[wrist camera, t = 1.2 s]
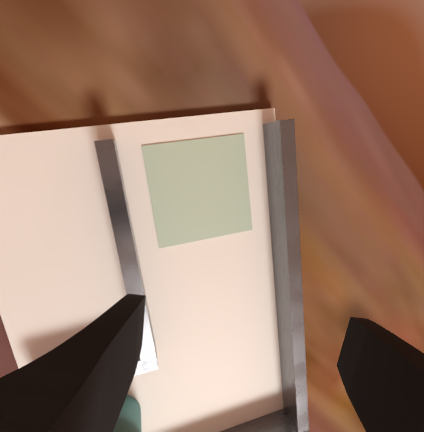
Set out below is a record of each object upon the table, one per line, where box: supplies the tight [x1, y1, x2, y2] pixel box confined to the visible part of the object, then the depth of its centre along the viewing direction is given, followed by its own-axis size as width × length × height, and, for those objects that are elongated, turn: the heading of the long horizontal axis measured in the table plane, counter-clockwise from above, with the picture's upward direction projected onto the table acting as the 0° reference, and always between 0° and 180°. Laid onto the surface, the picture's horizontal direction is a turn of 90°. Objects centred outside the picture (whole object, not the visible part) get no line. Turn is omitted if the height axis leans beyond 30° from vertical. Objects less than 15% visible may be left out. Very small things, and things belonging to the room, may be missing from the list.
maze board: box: [0, 108, 283, 432], centre depth 22 cm, size 20×28×1 cm
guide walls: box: [94, 119, 309, 432], centre depth 20 cm, size 19×26×2 cm
